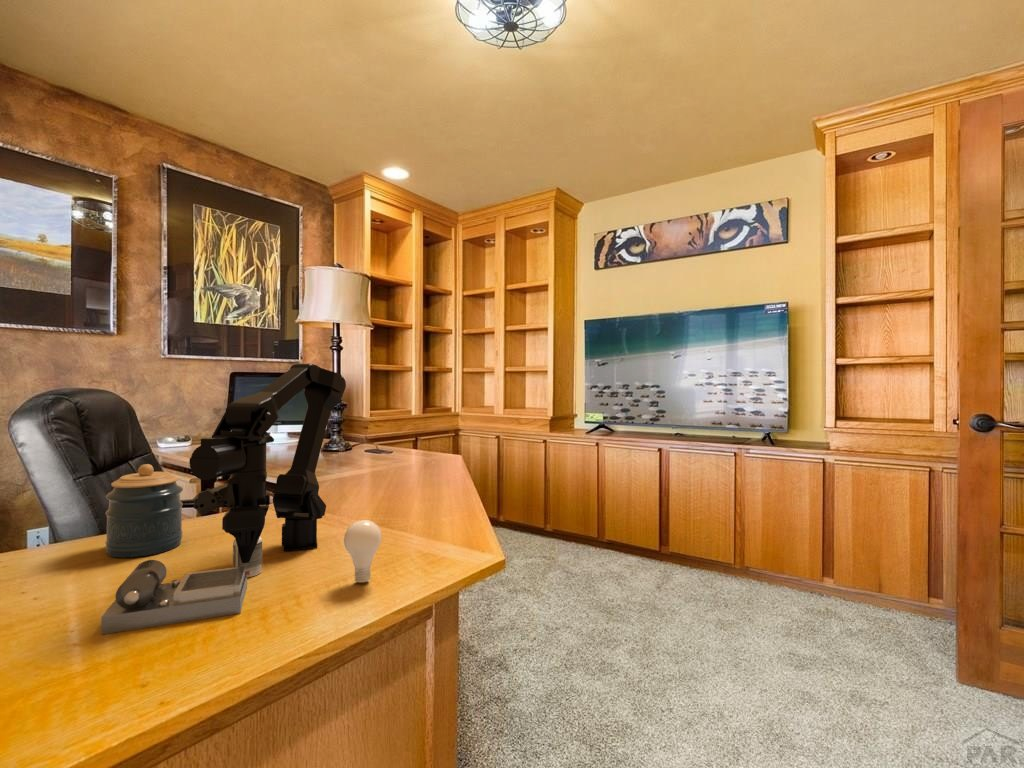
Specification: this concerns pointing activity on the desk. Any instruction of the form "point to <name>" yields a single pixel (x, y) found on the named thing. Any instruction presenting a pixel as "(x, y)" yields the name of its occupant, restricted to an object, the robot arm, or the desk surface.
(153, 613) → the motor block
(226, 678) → the desk surface
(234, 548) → the pill bottle
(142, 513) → the canister
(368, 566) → the lightbulb
